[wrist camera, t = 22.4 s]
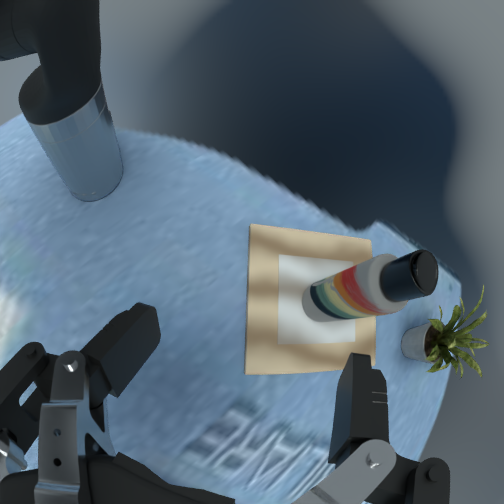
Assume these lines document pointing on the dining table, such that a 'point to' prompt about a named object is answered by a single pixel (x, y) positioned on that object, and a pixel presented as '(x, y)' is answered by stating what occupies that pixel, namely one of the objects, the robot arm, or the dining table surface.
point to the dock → (299, 302)
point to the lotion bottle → (372, 287)
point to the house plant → (443, 341)
